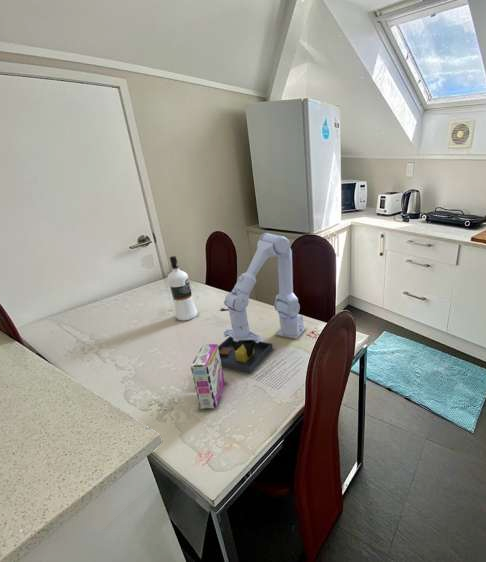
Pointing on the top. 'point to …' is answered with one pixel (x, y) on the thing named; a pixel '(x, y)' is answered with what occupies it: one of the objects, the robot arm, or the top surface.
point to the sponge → (242, 354)
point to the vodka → (181, 292)
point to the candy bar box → (208, 376)
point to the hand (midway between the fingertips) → (245, 354)
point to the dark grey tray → (259, 354)
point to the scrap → (225, 351)
